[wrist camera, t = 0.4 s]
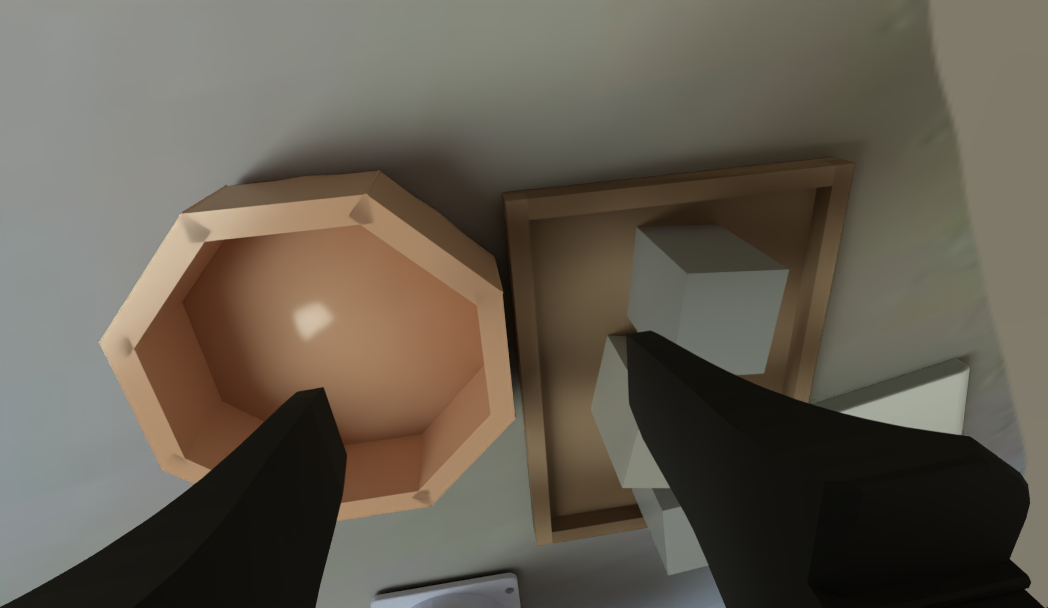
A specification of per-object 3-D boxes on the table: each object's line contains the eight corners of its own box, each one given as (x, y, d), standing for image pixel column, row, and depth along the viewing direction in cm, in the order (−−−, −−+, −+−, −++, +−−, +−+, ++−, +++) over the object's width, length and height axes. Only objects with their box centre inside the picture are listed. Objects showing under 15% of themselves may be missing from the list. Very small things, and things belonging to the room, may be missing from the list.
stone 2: (703, 311, 24) (764, 373, 19) (627, 315, 23) (670, 379, 19) (718, 224, 22) (789, 269, 17) (636, 226, 21) (687, 273, 17)
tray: (774, 486, 30) (788, 504, 28) (533, 525, 28) (537, 546, 27) (833, 157, 22) (855, 163, 20) (502, 192, 20) (505, 201, 19)
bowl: (512, 430, 25) (523, 492, 22) (234, 470, 24) (197, 543, 21) (483, 156, 20) (491, 179, 16) (118, 193, 19) (40, 227, 15)
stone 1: (660, 411, 26) (705, 488, 21) (590, 409, 25) (622, 488, 21) (681, 339, 24) (735, 405, 20) (607, 335, 23) (645, 402, 19)
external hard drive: (946, 351, 28) (932, 512, 33) (797, 400, 28) (807, 552, 33) (974, 368, 26) (954, 533, 32) (817, 419, 26) (824, 575, 32)
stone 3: (696, 474, 28) (744, 556, 23) (632, 490, 28) (668, 575, 23) (694, 415, 26) (746, 491, 22) (624, 431, 26) (662, 511, 21)
